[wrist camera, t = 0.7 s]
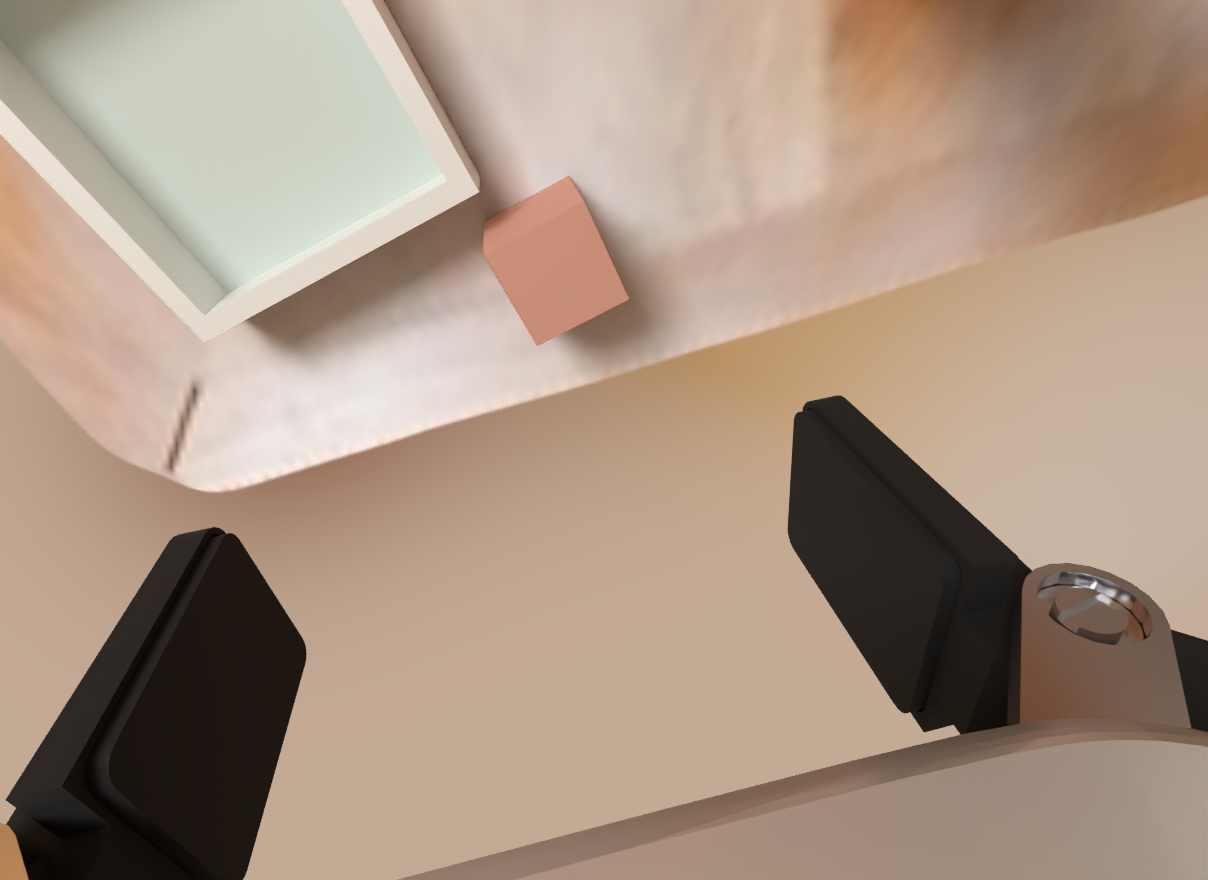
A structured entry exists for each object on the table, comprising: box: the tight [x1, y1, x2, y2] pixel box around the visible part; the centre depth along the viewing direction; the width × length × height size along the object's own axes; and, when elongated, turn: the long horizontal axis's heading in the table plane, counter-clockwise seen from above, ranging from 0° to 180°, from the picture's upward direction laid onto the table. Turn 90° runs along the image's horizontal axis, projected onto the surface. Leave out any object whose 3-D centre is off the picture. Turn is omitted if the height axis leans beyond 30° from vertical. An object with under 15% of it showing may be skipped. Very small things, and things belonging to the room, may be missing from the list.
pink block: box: [483, 176, 629, 346], centre depth 30 cm, size 5×5×6 cm
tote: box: [0, 0, 480, 342], centre depth 25 cm, size 15×15×4 cm
